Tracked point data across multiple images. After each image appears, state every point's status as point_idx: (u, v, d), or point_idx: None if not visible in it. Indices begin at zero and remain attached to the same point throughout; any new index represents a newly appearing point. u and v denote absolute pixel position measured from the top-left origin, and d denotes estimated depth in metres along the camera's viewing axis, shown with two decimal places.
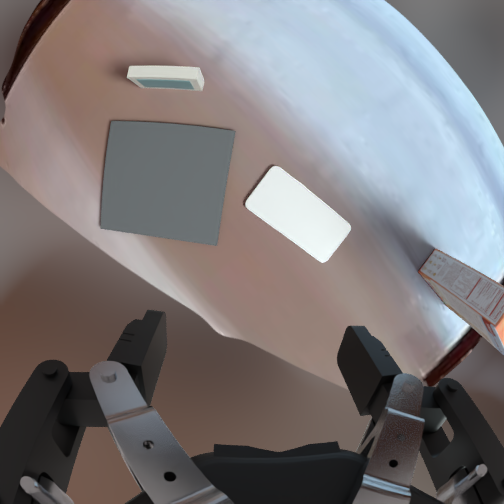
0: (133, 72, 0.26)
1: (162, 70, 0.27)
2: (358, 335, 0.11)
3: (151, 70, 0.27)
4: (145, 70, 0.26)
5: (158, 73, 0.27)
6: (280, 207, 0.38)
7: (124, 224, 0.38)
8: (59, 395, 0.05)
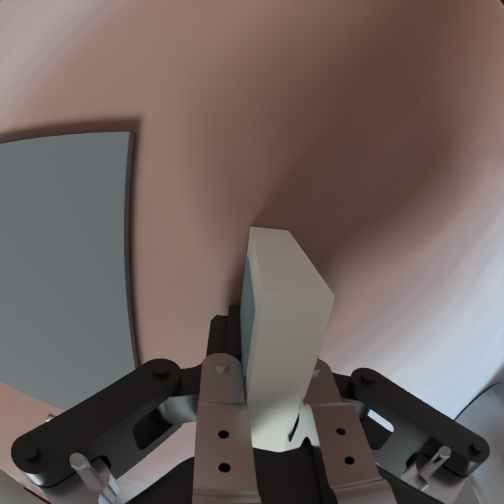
0: (288, 325, 0.06)
1: (274, 424, 0.07)
2: None
3: (281, 395, 0.07)
4: (287, 375, 0.07)
5: (262, 416, 0.07)
6: None
7: None
8: (158, 396, 0.06)
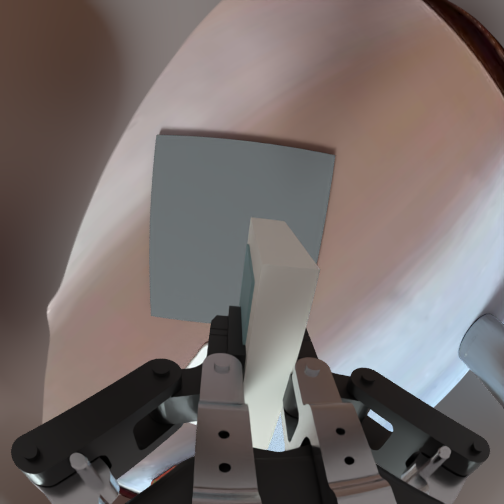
0: (281, 292, 0.08)
1: (269, 388, 0.09)
2: None
3: (276, 358, 0.08)
4: (281, 339, 0.08)
5: (259, 379, 0.09)
6: None
7: (164, 180, 0.23)
8: (159, 396, 0.06)
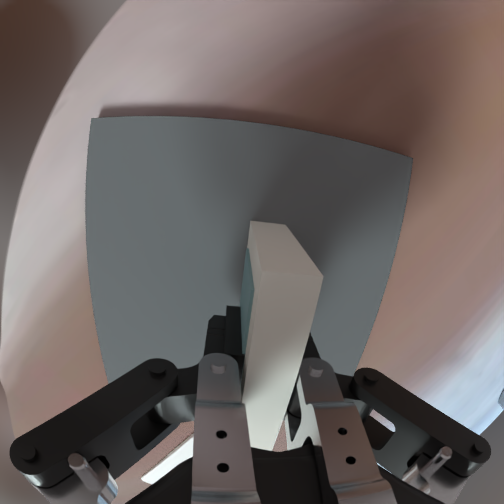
0: (283, 301, 0.07)
1: (270, 399, 0.08)
2: None
3: (277, 369, 0.08)
4: (282, 349, 0.08)
5: (259, 390, 0.08)
6: None
7: (104, 201, 0.12)
8: (156, 396, 0.06)
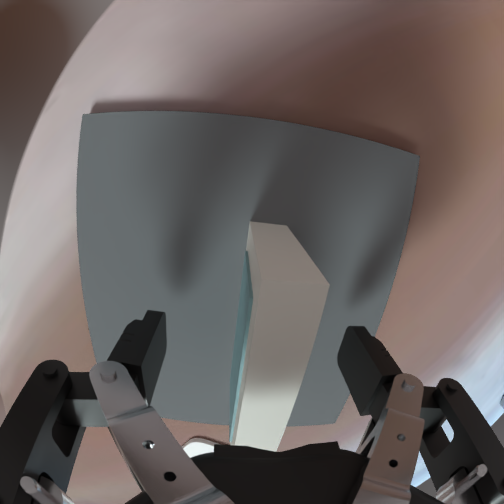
0: (284, 311, 0.06)
1: (270, 413, 0.08)
2: (358, 335, 0.11)
3: (278, 383, 0.07)
4: (283, 362, 0.07)
5: (259, 404, 0.07)
6: None
7: (95, 201, 0.11)
8: (59, 396, 0.05)
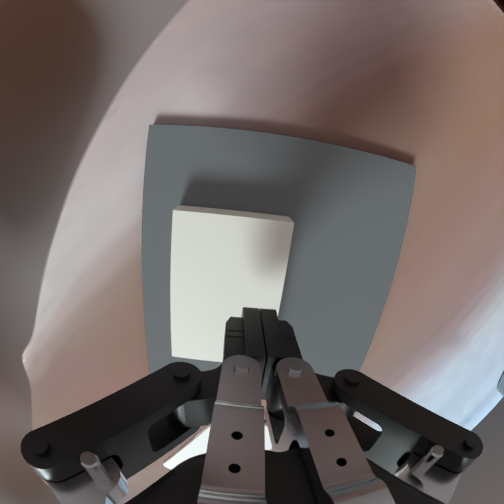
0: None
1: None
2: (263, 317, 0.11)
3: None
4: None
5: None
6: None
7: (162, 197, 0.15)
8: (177, 399, 0.06)
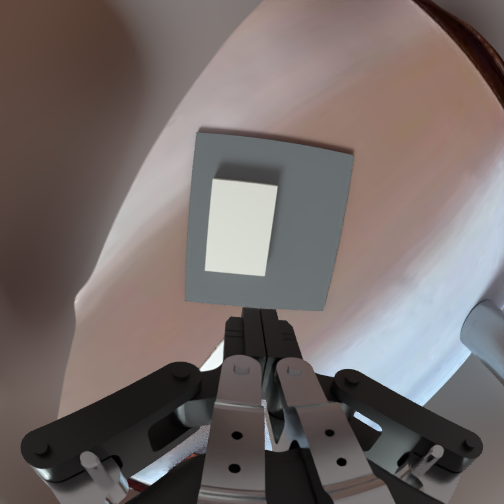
0: None
1: None
2: (263, 317, 0.11)
3: None
4: None
5: None
6: None
7: (203, 173, 0.26)
8: (177, 399, 0.06)
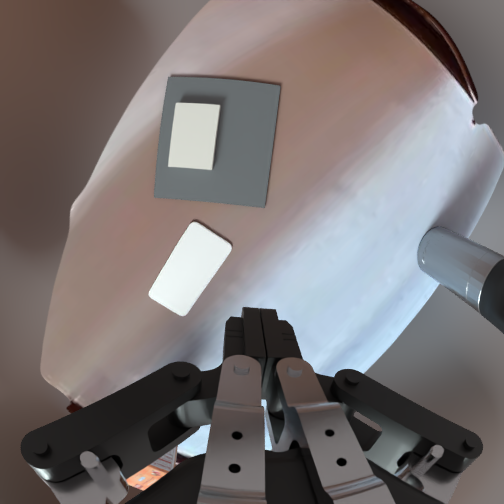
0: None
1: None
2: (263, 317, 0.11)
3: None
4: None
5: None
6: (193, 253, 0.41)
7: (171, 102, 0.34)
8: (177, 399, 0.06)
